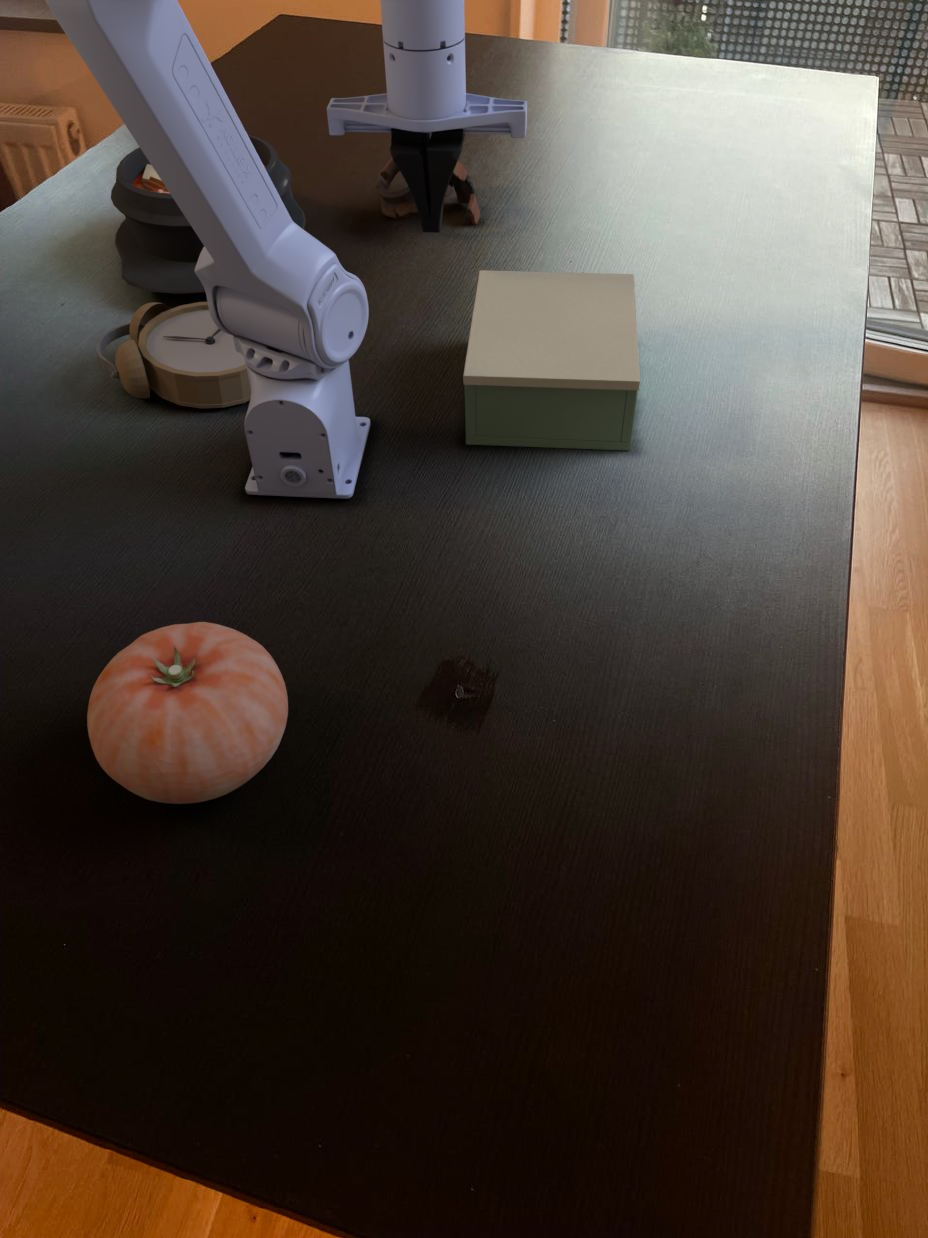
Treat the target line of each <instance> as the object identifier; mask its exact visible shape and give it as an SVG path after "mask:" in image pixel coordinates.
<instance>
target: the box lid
mask: <svg viewBox="0 0 928 1238" xmlns="http://www.w3.org/2000/svg"><path fill="white" fill-rule="evenodd" d="M635 284H636V283H635V274H634V273H605V272H604V273H602V272H565V271H563V272H562V271H524V270H486V269H485V270H484V269H482V270H481V269H480V270H479V272H478V278H477V284H476V292H475V297H474V305H473V311H472V315H471V316H472V317H471V322H470V323H471V324H470V330H469V335H468V341H467V342H468V343H467V349H466V355H465V362H464V369H463V375H462V378H463V379H462V380H463V385H464V386H465V385H489V386H519V387H549V388H579V389H609V390H638V391H639V390H640V386H641V371H640V356H639V355H640V354H639V353H640V352H639V337H638V336H639V335H638V320H637V319H638V318H637V304H636V303H637V301H636V287H635Z"/></svg>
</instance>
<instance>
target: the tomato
mask: <svg viewBox="0 0 928 1238" xmlns="http://www.w3.org/2000/svg"><path fill="white" fill-rule="evenodd" d="M288 716H289V697H288V691H287V686H286V683H285V680H284V678H283V674H282V672H281V669H280V668H279V666H278V664H277V663H276V661H275V660H274V658H273V656H272V655H271V654H270V652H269V651H268V650H267V649H266V648H265V647H264V646H263V645H262V644H260V643H259V642H258V641H256V640H255V639H253V638H251V637H250V636H248V635H247V634H245V633H243V632H241V631H239V630H236V629H234V628H231V627H228V626H225V625H221V624H218V623H214V622H208V621H195V622H190V623H176V624H170V625H167V626H162V627H159V628H156V629H154V630H151V631H148V632H146V633H144V634H141V635H140V636H139V637H137V638H136V639H135V640H133V642H132V643H130V644H129V645H127V646H126V647H124V648H123V649H121V650H120V651H118V652H117V653H116V655H114V656H113V657H112V658H111V660H109V662H108V663H107V664H106V666H104V669H103V670H102V671H101V673H100V674H99V676H98V677H97V679H96V681H95V683H94V685H93V686H92V690H91V693H90V696H89V701H88V705H87V714H86V721H87V722H86V723H87V724H86V726H87V733H88V738H89V742H90V746H91V750H92V752H93V754H94V757H95V759H96V761H97V763H98V764H99V766H100V767H101V769H102V770H103V771H104V772H105V773H106V775H108V777H110V778H111V779H112V780H113V781H114V782H116V783H117V784H119V785H121V786H122V787H123V788H124V789H126V790H127V791H129V792H131V793H133V794H134V795H136V796H138V797H141V798H142V799H145V800H148V801H152V802H155V803H163V804H173V805H184V804H187V805H188V804H196V803H202V802H207V801H211V800H214V799H215V800H216V799H218V798H220V797H223V796H226V795H227V794H230V793H231V792H234V791H235V790H237V789H239V788H240V787H242V786H243V785H245V784H246V783H247V782H248V781H250V780H251V779H252V778H254V777H255V776H256V775H257V774H258V773H259V772H260V771H261V770H262V769H263V768H264V767H265V766H266V765H267V763H269V761H271V759H272V758H273V756H274V755H275V754H276V753H275V752H276V751H277V750H278V747H279V746H280V743H281V741H282V738H283V736H284V733H285V730H286V726H287V722H288Z"/></svg>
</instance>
